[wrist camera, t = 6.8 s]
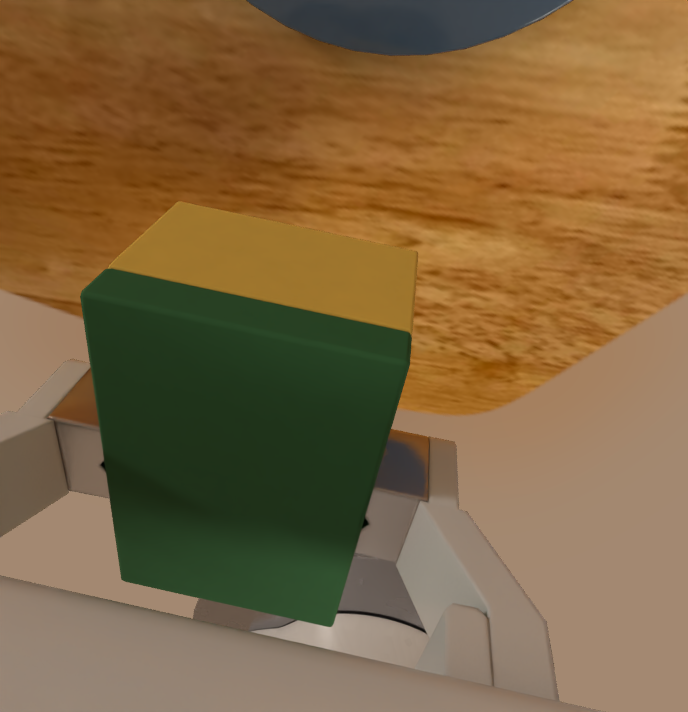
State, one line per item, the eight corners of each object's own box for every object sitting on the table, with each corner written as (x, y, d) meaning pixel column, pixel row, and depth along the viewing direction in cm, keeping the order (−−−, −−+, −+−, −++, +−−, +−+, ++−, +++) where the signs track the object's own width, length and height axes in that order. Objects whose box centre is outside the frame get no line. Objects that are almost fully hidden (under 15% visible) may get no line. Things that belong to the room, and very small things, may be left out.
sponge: (353, 496, 14) (332, 629, 11) (183, 459, 14) (119, 581, 11) (419, 250, 10) (410, 363, 7) (177, 199, 10) (76, 291, 7)
